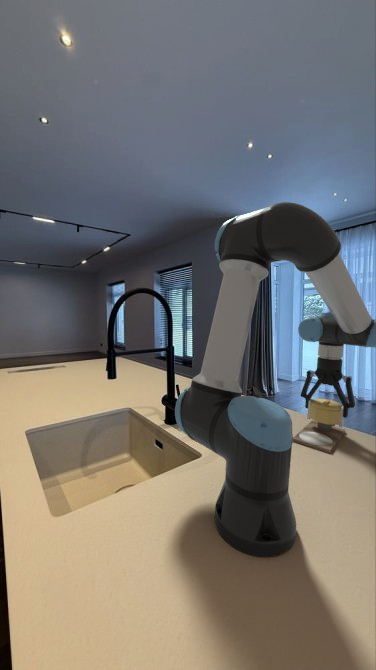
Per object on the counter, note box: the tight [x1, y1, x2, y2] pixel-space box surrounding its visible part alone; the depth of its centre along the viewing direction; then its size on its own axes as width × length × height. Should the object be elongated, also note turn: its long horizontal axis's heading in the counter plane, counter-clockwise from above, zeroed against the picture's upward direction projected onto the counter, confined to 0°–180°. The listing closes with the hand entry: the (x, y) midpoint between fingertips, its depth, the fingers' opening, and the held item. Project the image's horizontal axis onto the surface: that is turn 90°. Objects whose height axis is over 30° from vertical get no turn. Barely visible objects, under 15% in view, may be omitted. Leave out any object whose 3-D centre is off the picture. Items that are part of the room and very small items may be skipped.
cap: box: [309, 398, 343, 426], centre depth 96 cm, size 9×9×6 cm
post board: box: [293, 420, 346, 454], centre depth 93 cm, size 20×11×9 cm, turn 140°
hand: (324, 421), depth 97 cm, fingers closed on cap, 9 cm apart
